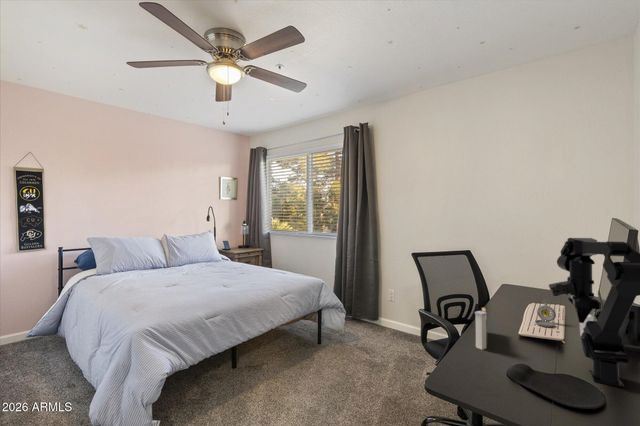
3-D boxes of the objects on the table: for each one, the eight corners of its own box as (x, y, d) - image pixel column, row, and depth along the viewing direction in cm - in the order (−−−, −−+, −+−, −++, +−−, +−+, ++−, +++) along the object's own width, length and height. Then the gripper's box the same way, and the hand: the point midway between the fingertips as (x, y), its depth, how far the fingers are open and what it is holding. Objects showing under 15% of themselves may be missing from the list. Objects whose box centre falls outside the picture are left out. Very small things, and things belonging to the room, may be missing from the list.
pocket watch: (539, 327, 130) (539, 303, 130) (530, 320, 138) (530, 298, 138) (561, 328, 128) (561, 304, 128) (551, 321, 136) (551, 299, 136)
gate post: (482, 350, 109) (481, 314, 109) (474, 347, 112) (474, 311, 112) (487, 348, 110) (486, 312, 110) (479, 345, 113) (479, 310, 113)
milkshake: (599, 340, 116) (599, 313, 116) (582, 339, 118) (582, 312, 117) (591, 335, 121) (591, 309, 121) (575, 334, 122) (575, 309, 122)
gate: (487, 345, 111) (487, 319, 111) (482, 345, 112) (482, 319, 112) (485, 330, 125) (485, 307, 125) (481, 330, 126) (481, 307, 126)
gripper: (546, 268, 114) (547, 310, 114) (555, 278, 98) (555, 327, 98) (585, 271, 109) (586, 315, 109) (601, 282, 93) (601, 334, 93)
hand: (581, 322), depth 102 cm, fingers closed
